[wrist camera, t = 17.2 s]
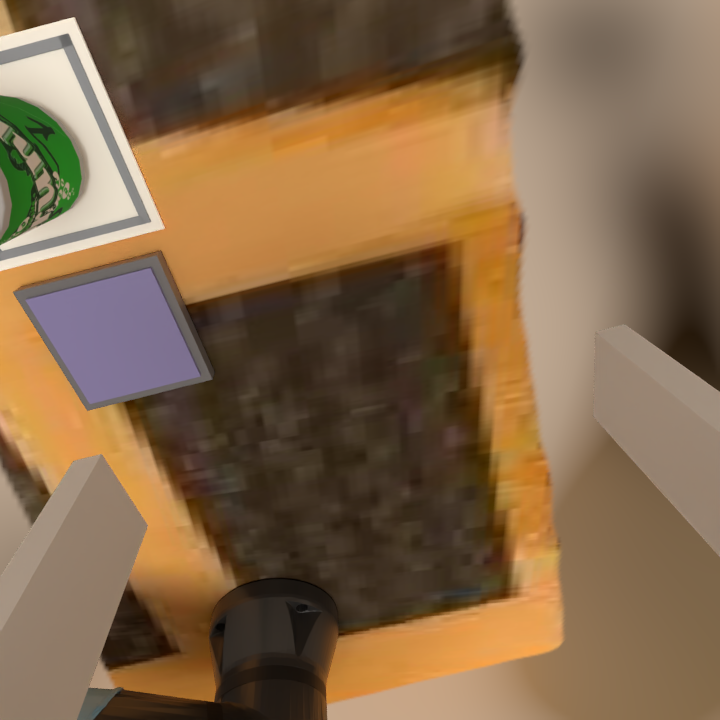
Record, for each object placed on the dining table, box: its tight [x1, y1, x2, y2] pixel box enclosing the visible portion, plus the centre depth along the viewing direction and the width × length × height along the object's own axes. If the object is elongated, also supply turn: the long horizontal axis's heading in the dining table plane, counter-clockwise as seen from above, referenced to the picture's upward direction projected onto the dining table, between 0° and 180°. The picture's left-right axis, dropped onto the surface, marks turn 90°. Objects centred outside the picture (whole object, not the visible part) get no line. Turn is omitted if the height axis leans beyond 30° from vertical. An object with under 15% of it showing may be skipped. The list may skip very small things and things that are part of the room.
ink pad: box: [13, 251, 215, 411], centre depth 38 cm, size 11×11×2 cm
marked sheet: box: [0, 17, 165, 271], centre depth 32 cm, size 13×13×1 cm
